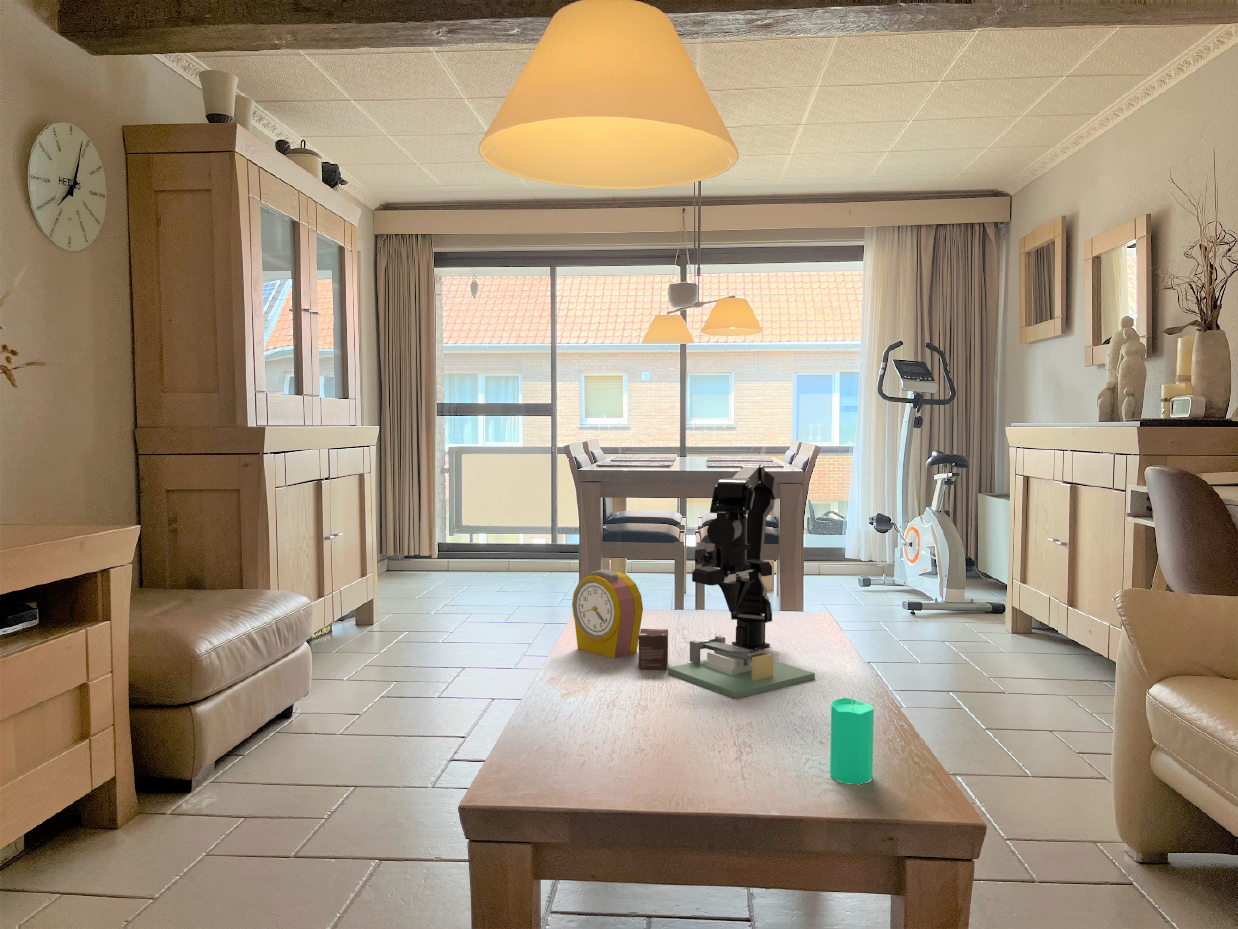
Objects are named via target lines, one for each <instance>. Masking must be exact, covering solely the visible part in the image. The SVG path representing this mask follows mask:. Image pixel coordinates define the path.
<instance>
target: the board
mask: <svg viewBox="0 0 1238 929" xmlns="http://www.w3.org/2000/svg"><path fill="white" fill-rule="evenodd" d="M714 639H718V641H719V642H722V643H726V637H724V636H722V635H716V636H714ZM667 674H668V675H672V676H675V677H677V678H679V679H682V680H685V681H687V682H690V683H693V684H696V685H697V686H701V687H704V688H706V689H709V690H711V691H714V692H717V693H719V694H722V695H724V696H728V697H729V698H730V697H731V698H733V699H736V700H737V699H741V698H745V697H749V696H752V695H756V694H760V693H765V692H768V691H769V692H770V691H773V690H777V689H781V688H783V687H785V688H786V687H788V686H792V685H797V684H799V683H805V682H807V681H808V682H809V681H811V680H815V678H816V673H815V672H812V671H809V670H806V669H803V668H801V667H797V666H793V665H790V664H786V663H783V662H781V661H777V660H774V654H773V653H767V654H765V655H761V656H756V657H752V661H751V660H747V659H743V658H739V657H736V656H732V655H728V654H724V653H721V652H717V651H714V652H712V651H707V652H706V659H703V660H701V649H700V641H698V640H690V641H689V662H688V663H684V664H677V665H674V666H667Z"/></svg>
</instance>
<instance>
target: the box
mask: <svg viewBox="0 0 1238 929" xmlns="http://www.w3.org/2000/svg"><path fill="white" fill-rule="evenodd" d="M668 663H669V629H667V628H666V629H664V628H663V629H661V628H659V629H657V628H640V633H639V640H638V669H639V670H666V671H668Z"/></svg>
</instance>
